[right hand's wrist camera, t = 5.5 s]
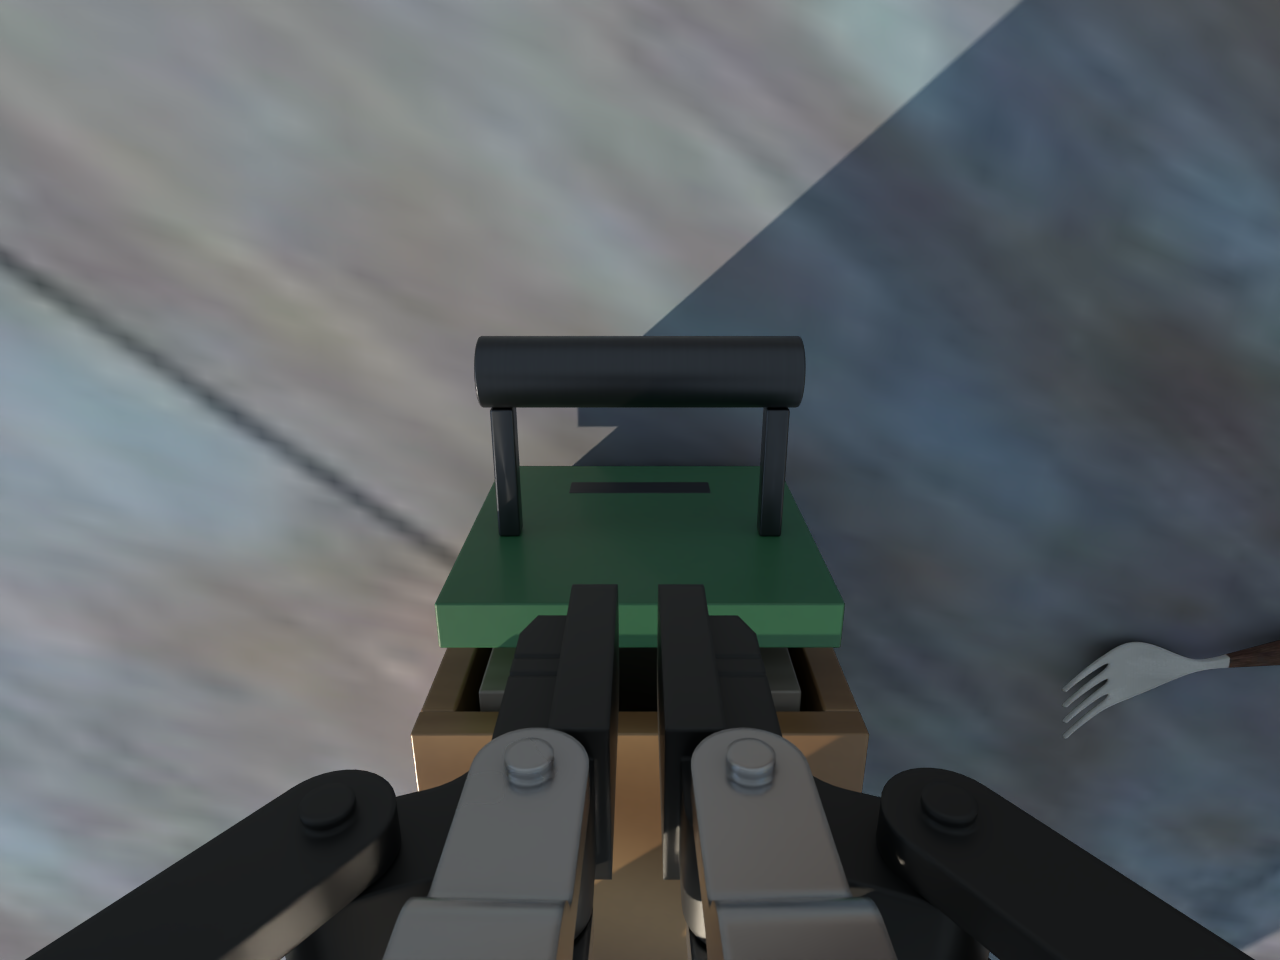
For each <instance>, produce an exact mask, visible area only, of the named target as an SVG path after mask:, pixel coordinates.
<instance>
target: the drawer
mask: <svg viewBox="0 0 1280 960" xmlns="http://www.w3.org/2000/svg"><path fill="white" fill-rule="evenodd" d="M474 377H475V388H476V394H477V398H478V401H479V404H480V405H481V406H482V407H492V408H491V410H490V417H491V432H492V446H493V460H494V474H495V481H494V483H493V485H492V487H491V489H490V492H489V494H488V496H487V498H486V500H485V502H484V504H483V506H482V508H481V510H480V512H479V514H478V516H477V518H476V520H475V522H474V524H473V527H472V529H471V531H470V533H469V535H468V537H467V539H466V541H465V543H464V545H463V547H462V549H461V551H460V553H459V555H458V557H457V559H456V562H455V564H454V566H453V568H452V570H451V572H450V574H449V576H448V578H447V580H446V582H445V584H444V586H443V588H442V590H441V592H440V594H439V597H438V599H437V601H436V603H435V611H436V621H437V630H438V640H439V646H440V647H441V648H492V652H491V655H490V658H489V661H488V664H487V667H486V671H485V674H484V677H483V680H482V683H481V686H480V690H479V702H480V712H499V710H500V706H501V702H502V699H503V695H504V691H505V687H506V684H507V680H508V676H510V668H511V665H512V661H513V659H514V653H515V650H516V646H517V642H518V638H519V635H520V633H521V632H522V631H523V630H524V629H525V628H526V627H527V626H528V625H529V624H530V623H531V622H532V621H533V620H534V619H535V618H536V617H537V616H538V615H567V611H568V605H569V599H570V593H571V588H572V584H618V604H619V712H658V711H657V624H658V584H704V588H705V594H706V600H707V607H708V613H709V615H738V616H739V617H740V618H741V619H742V620H743V621H744V622H745V623H746V624H747V625H748V626H749V627H750V628H751V629H752V630H753V631H754V632H755V633H756V635H757V639H758V643H759V647H760V651H761V658H762V659H763V663H764V667H765V671H766V676H767V678H768V682H769V686H770V690H771V694H772V698H773V702H774V706H775V710H776V711H800V701H801V690H800V686H799V683H798V680H797V677H796V674H795V671H794V667H793V664H792V661H791V658H790V655H789V652H788V649H787V648H838V647H840V646H841V637H842V628H843V618H844V609H845V603H844V601H843V599H842V597H841V595H840V593H839V591H838V589H837V587H836V585H835V583H834V581H833V579H832V576H831V574H830V572H829V570H828V568H827V566H826V564H825V562H824V560H823V558H822V556H821V554H820V552H819V550H818V548H817V546H816V544H815V541H814V539H813V537H812V535H811V533H810V531H809V529H808V527H807V525H806V523H805V521H804V519H803V517H802V515H801V513H800V511H799V509H798V507H797V504H796V502H795V500H794V498H793V496H792V494H791V492H790V490H789V488H788V486H787V484H786V482H785V471H786V457H787V442H788V428H789V414H790V411H789V408H788V407H798V406H799V405H800V403H801V400H802V397H803V392H804V385H805V351H804V345H803V342H802V339H801V338H800V337H799V336H481V337H479V338H478V341H477V344H476V349H475V358H474ZM516 407H764V410H763V427H762V444H761V462H760V466H519V450H518V433H517V415H516Z"/></svg>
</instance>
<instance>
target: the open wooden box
mask: <svg viewBox="0 0 1280 960" xmlns="http://www.w3.org/2000/svg"><path fill="white" fill-rule="evenodd" d="M787 649H788V652H789V655H790V658H791V661H792V664H793V667H794V671H795V674H796V677H797V680H798V683H799V686H800V690H801V701H800V711H776V713H777V717H778V721H779V725H780V729H781V733H782V737H783V738H785V739H787V740H788V741H790V742H791V743H793V744H794V745H795V746H796V747H797V748H798V749H799V750H800V751H801V752H802V753H803V755H804V756H805V757H806V759H807V761H808V764H809V766H810V769H811V772H812V775H813V776H814V777H816V778H818V779H820V780H822V781H824V782H826V783H829V784H831V785H834V786H837V787H840V788H844V789H847V790H851V791H856V792H860V793H862V787H863V779H864V771H865V763H866V755H867V747H868V739H869V733H868V731H867V728H866V726H865V723H864V721H863V719H862V716H861V714H860V712H859V710H858V707H857V705H856V703H855V700H854V698H853V695H852V693H851V691H850V688H849V686H848V683H847V681H846V678H845V676H844V674H843V671H842V669H841V666H840V664H839V662H838V659H837V657H836V654H835V652H834V649H833V648H787ZM491 652H492V648H447V650H446V652H445V655H444V657H443V659H442V662H441V664H440V667H439V669H438V671H437V674H436V676H435V679H434V681H433V684H432V686H431V688H430V691H429V693H428V696H427V698H426V701H425V703H424V705H423V708H422V710H421V712H420V713H419V716H418V718H417V720H416V723H415V725H414V728H413V730H412V733H411V741H412V749H413V757H414V765H415V773H416V781H417V789H418V791H422V790H427V789H430V788H434V787H437V786H441V785H443V784H446V783H448V782H450V781H453V780H454V779H456V778H458V777H460V776H462V775H463V774H465V773H466V772H468V771H469V769H470V766H471V764H472V761H473V759H474V757H475V756H476V755H477V753H478V752H479V751H480V750H481V749H482V748H483V747H484V746H485V745H486V744H487V743H489V742H490V741H491V740H492V736H493V732H494V729H495V725H496V721H497V717H498V714H499V712H480V702H479V690H480V686H481V683H482V680H483V677H484V674H485V671H486V667H487V664H488V661H489V658H490V655H491ZM593 922H594V943H593V954H592V960H688V954H687V943H686V921H685V918H684V915H683V911H682V904H681V886H680V880H663V862H662V832H661V802H660V772H659V741H658V712H619V716H618V741H617V766H616V791H615V816H614V841H613V865H612V880H595V882H594V897H593Z"/></svg>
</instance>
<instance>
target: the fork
mask: <svg viewBox="0 0 1280 960" xmlns="http://www.w3.org/2000/svg"><path fill="white" fill-rule="evenodd" d="M1107 663H1108V665H1107V667H1106V668H1105V669H1104V670H1103V671H1101V672H1100V673H1099V674H1098V675H1096V676H1095V677H1094V678H1092V679H1091V680H1090V681H1088V682H1087V683H1086V684H1085V685H1083V686H1082V687H1081V688H1080V689H1079V690H1078V691H1076V692H1075V693H1074V694H1073V695H1072V696H1071V697H1069V698H1068V699H1067V700H1066V701H1065V702H1064V703H1063V704H1062V706H1063V707H1068V706H1069V705H1070V704H1071V703H1072V702H1073V701H1075V700H1076V699H1077V698H1079V697H1080V696H1081V695H1083V694H1084V693H1085V692H1087V691H1088V690H1089V689H1091V688H1092V687H1094V686H1095V685H1097V684H1098V683H1100V682H1101V681H1103V680H1105V679H1108V680H1107V682H1106V683H1105V684H1104V685H1103V686H1102V687H1100V688H1099V689H1098V690H1096V691H1095V692H1094V693H1092V694H1091V695H1090V696H1089V697H1087V698H1086V699H1085V700H1084V701H1083V702H1081V703H1080V704H1079V705H1078V706H1077V707H1076V708H1075V709H1073V710H1072V711H1071V712H1070V713H1069V714H1068V715H1067V716H1066V717H1065V718H1064V719H1063V720H1062V722H1064V723H1068V722H1069V721H1070V720H1071V719H1072V718H1073V717H1074V716H1075V715H1077V714H1078V713H1079V712H1080V711H1082V710H1083V709H1084V708H1086V707H1087V706H1088V705H1090V704H1091V703H1093V702H1094V701H1095V700H1097V699H1098V698H1100V697H1102V696H1104V695H1106V694H1107V697H1106V698H1105V699H1104V700H1103V701H1102V702H1100V703H1099V704H1098V705H1096V706H1095V707H1094V708H1092V709H1091V710H1090V711H1089V712H1088V713H1086V714H1085V715H1084V716H1083V717H1082V718H1080V719H1079V720H1078V721H1077V722H1076V723H1075V724H1074V725H1073V726H1071V727H1070V728H1069V729H1068V730H1067V731H1066V732H1065V733H1064V734H1063V735H1062V737H1063V738H1065V739H1067V738H1068V737H1069V736H1070V735H1071V734H1072V733H1073V732H1074V731H1076V730H1077V729H1078V728H1079V727H1081V726H1082V725H1083V724H1084V723H1086V722H1087V721H1088V720H1090V719H1091V718H1092V717H1094V716H1095V715H1097V714H1098V713H1100V712H1101V711H1103V710H1105V709H1106V708H1108V707H1110V706H1112V705H1115V704H1117V703H1119V702H1122V701H1124V700H1127V699H1129V698H1132V697H1134V696H1137V695H1139V694H1141V693H1144V692H1146V691H1148V690H1151V689H1153V688H1155V687H1158V686H1160V685H1162V684H1165V683H1167V682H1170V681H1172V680H1174V679H1177V678H1179V677H1182V676H1185V675H1188V674H1191V673H1194V672H1198V671H1202V670H1208V669H1217V668H1232V667H1250V666H1269V665H1280V640H1278V641H1274V642H1270V643H1267V644H1263V645H1259V646H1255V647H1252V648H1248V649H1244V650H1240V651H1236V652H1233V653H1229V654H1225V655H1221V656H1217V657H1212V658H1207V659H1191V658H1187V657H1184V656H1181V655H1178V654H1175V653H1173V652H1171V651H1168V650H1166V649H1163V648H1161V647H1158V646H1155V645H1152V644H1148V643H1143V642H1129V643H1125V644H1122V645H1120V646H1118V647H1116V648H1114V649H1112V650H1111V651H1109V652H1108V653H1106V654H1105V655H1103V656H1102V657H1100V658H1099V659H1097V660H1096V661H1094V662H1093V663H1092V664H1090V665H1089V666H1088V667H1086V668H1085V669H1084V670H1083V671H1082V672H1080V673H1079V674H1078V675H1077V676H1076V677H1074V678H1073V679H1072V680H1071V681H1070V682H1069V683H1067V684H1066V685H1065V686H1064V687H1063V688H1062V691H1063V692H1067V691H1068V690H1069V689H1070V688H1071V687H1073V686H1074V685H1075V684H1076V683H1078V682H1079V681H1080V680H1082V679H1083V678H1084V677H1086V676H1087V675H1089V674H1090V673H1092V672H1093V671H1094V670H1096V669H1097V668H1099V667H1101V666H1103V665H1105V664H1107Z"/></svg>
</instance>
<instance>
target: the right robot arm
mask: <svg viewBox="0 0 1280 960" xmlns="http://www.w3.org/2000/svg"><path fill="white" fill-rule="evenodd" d="M657 711H658V741H659V772H660V802H661V832H662V862H663V880H680V886H681V904H682V911H683V915H684V918H685V921H686V943H687V954H688V960H991V959H989V958H988V957H989V952H991V953H992V954H994V955H995V956H996V957H997V958H998V959H1000V960H1254V959H1253V958H1251V957H1250V956H1248V955H1247V954H1245V953H1243V952H1242V951H1240V950H1239V949H1237V948H1236V947H1234V946H1233V945H1231V944H1229V943H1228V942H1226V941H1225V940H1223V939H1222V938H1220V937H1219V936H1217V935H1215V934H1214V933H1212V932H1211V931H1209V930H1208V929H1206V928H1205V927H1203V926H1202V925H1200V924H1198V923H1197V922H1195V921H1194V920H1192V919H1191V918H1189V917H1188V916H1186V915H1184V914H1183V913H1181V912H1180V911H1178V910H1177V909H1175V908H1174V907H1172V906H1170V905H1169V904H1167V903H1166V902H1164V901H1163V900H1161V899H1160V898H1158V897H1156V896H1155V895H1153V894H1152V893H1150V892H1149V891H1147V890H1146V889H1144V888H1143V887H1141V886H1139V885H1138V884H1136V883H1135V882H1133V881H1132V880H1130V879H1129V878H1127V877H1125V876H1124V875H1122V874H1121V873H1119V872H1118V871H1116V870H1115V869H1113V868H1111V867H1110V866H1108V865H1107V864H1105V863H1104V862H1102V861H1101V860H1099V859H1097V858H1096V857H1094V856H1093V855H1091V854H1090V853H1088V852H1087V851H1085V850H1084V849H1082V848H1080V847H1079V846H1077V845H1076V844H1074V843H1073V842H1071V841H1070V840H1068V839H1066V838H1065V837H1063V836H1062V835H1060V834H1059V833H1057V832H1056V831H1054V830H1052V829H1051V828H1049V827H1048V826H1046V825H1045V824H1043V823H1042V822H1040V821H1038V820H1037V819H1035V818H1034V817H1032V816H1031V815H1029V814H1028V813H1026V812H1025V811H1023V810H1021V809H1020V808H1018V807H1017V806H1015V805H1014V804H1012V803H1011V802H1009V801H1007V800H1006V799H1004V798H1003V797H1001V796H1000V795H998V794H997V793H995V792H993V791H992V790H990V789H989V788H987V787H986V786H984V785H982V784H981V783H979V782H977V781H975V780H973V779H971V778H969V777H967V776H964V775H962V774H959V773H956V772H952V771H948V770H943V769H936V768H916V769H910V770H906V771H903V772H901V773H899V774H897V775H895V776H893V777H892V778H891V779H890V780H889V781H888V782H887V783H886V785H885V786H884V789H883V791H882V795H881V798H880V797H876V796H872V795H868V794H864V793H860V792H856V791H851V790H847V789H844V788H840V787H837V786H834V785H831V784H829V783H826V782H824V781H822V780H820V779H818V778H816V777H814V776H813V775H812V772H811V769H810V766H809V764H808V761H807V759H806V757H805V756H804V755H803V753H802V752H801V751H800V750H799V749H798V748H797V747H796V746H795V745H794V744H793V743H791V742H790V741H788V740H787V739H785V738H783V737H782V733H781V729H780V725H779V721H778V717H777V713H776V710H775V706H774V702H773V698H772V694H771V690H770V686H769V682H768V678H767V676H766V671H765V667H764V663H763V659H762V658H761V651H760V647H759V643H758V639H757V635H756V633H755V632H754V631H753V630H752V629H751V628H750V627H749V626H748V625H747V624H746V623H745V622H744V621H743V620H742V619H741V618H740V617H739V616H738V615H709V613H708V607H707V600H706V594H705V588H704V584H658V624H657ZM618 716H619V604H618V584H572V588H571V593H570V599H569V605H568V611H567V615H538V616H537V617H536V618H535V619H534V620H533V621H532V622H531V623H530V624H529V625H528V626H527V627H526V628H525V629H524V630H523V631H522V632H521V633H520V635H519V638H518V642H517V646H516V650H515V653H514V659H513V661H512V665H511V668H510V676H508V680H507V684H506V687H505V691H504V695H503V699H502V702H501V706H500V710H499V714H498V717H497V721H496V725H495V729H494V732H493V736H492V740H491V741H490V742H489V743H487V744H486V745H485V746H484V747H483V748H482V749H481V750H480V751H479V752H478V753H477V755H476V756H475V757H474V759H473V761H472V764H471V766H470V769H469V771H468V772H466V773H465V774H463V775H462V776H460V777H458V778H456V779H454V780H453V781H450V782H448V783H446V784H443V785H441V786H437V787H434V788H430V789H427V790H422V791H418V792H414V793H410V794H406V795H402V796H398V797H396V796H395V793H394V790H393V788H392V786H391V785H390V784H389V782H388V781H386V780H385V779H384V778H383V777H381V776H379V775H377V774H375V773H371V772H368V771H362V770H340V771H333V772H329V773H324V774H321V775H318V776H315V777H312V778H310V779H308V780H306V781H303V782H302V783H300V784H298V785H296V786H295V787H293V788H291V789H290V790H288V791H287V792H285V793H283V794H282V795H280V796H279V797H277V798H276V799H274V800H273V801H271V802H269V803H268V804H266V805H265V806H263V807H262V808H260V809H259V810H257V811H255V812H254V813H252V814H251V815H249V816H248V817H246V818H245V819H243V820H242V821H240V822H238V823H237V824H235V825H234V826H232V827H231V828H229V829H228V830H226V831H224V832H223V833H221V834H220V835H218V836H217V837H215V838H214V839H212V840H210V841H209V842H207V843H206V844H204V845H203V846H201V847H200V848H198V849H196V850H195V851H193V852H192V853H190V854H189V855H187V856H186V857H184V858H183V859H181V860H179V861H178V862H176V863H175V864H173V865H172V866H170V867H169V868H167V869H165V870H164V871H162V872H161V873H159V874H158V875H156V876H155V877H153V878H151V879H150V880H148V881H147V882H145V883H144V884H142V885H141V886H139V887H137V888H136V889H134V890H133V891H131V892H130V893H128V894H127V895H125V896H123V897H122V898H120V899H119V900H117V901H116V902H114V903H113V904H111V905H110V906H108V907H106V908H105V909H103V910H102V911H100V912H99V913H97V914H96V915H94V916H92V917H91V918H89V919H88V920H86V921H85V922H83V923H82V924H80V925H78V926H77V927H75V928H74V929H72V930H71V931H69V932H68V933H66V934H64V935H63V936H61V937H60V938H58V939H57V940H55V941H54V942H52V943H51V944H49V945H47V946H46V947H44V948H43V949H41V950H40V951H38V952H37V953H35V954H33V955H32V956H30V957H29V958H27V959H26V960H280V959H282V958H283V957H284V956H285V957H286V960H592V954H593V943H594V922H593V897H594V882H595V880H612V865H613V841H614V816H615V791H616V766H617V741H618Z"/></svg>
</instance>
